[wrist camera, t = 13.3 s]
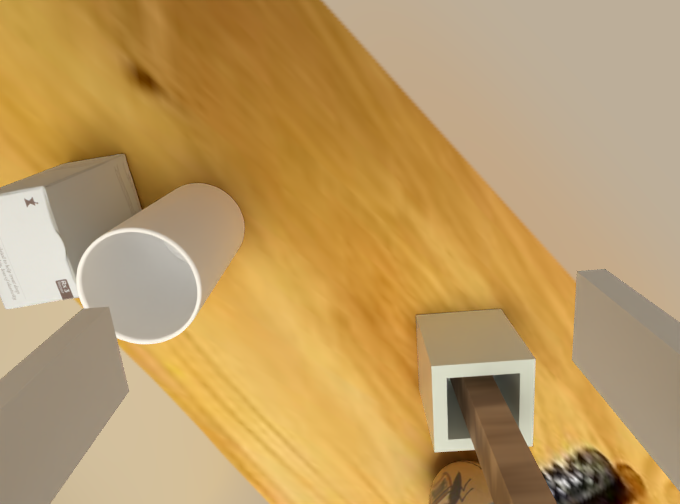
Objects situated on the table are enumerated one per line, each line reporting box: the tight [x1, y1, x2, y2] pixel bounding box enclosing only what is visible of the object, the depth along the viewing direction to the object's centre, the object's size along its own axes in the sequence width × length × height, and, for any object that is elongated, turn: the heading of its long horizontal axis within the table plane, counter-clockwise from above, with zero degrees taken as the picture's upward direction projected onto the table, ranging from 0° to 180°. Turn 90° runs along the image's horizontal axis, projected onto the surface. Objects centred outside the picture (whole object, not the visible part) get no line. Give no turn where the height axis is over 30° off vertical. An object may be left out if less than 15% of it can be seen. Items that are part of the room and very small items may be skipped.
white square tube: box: [416, 309, 535, 452], centre depth 49 cm, size 8×8×10 cm
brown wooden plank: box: [450, 375, 557, 504], centre depth 42 cm, size 4×2×24 cm, turn 5°
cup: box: [76, 183, 245, 344], centre depth 42 cm, size 8×8×16 cm
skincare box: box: [0, 154, 142, 309], centre depth 42 cm, size 8×6×15 cm
